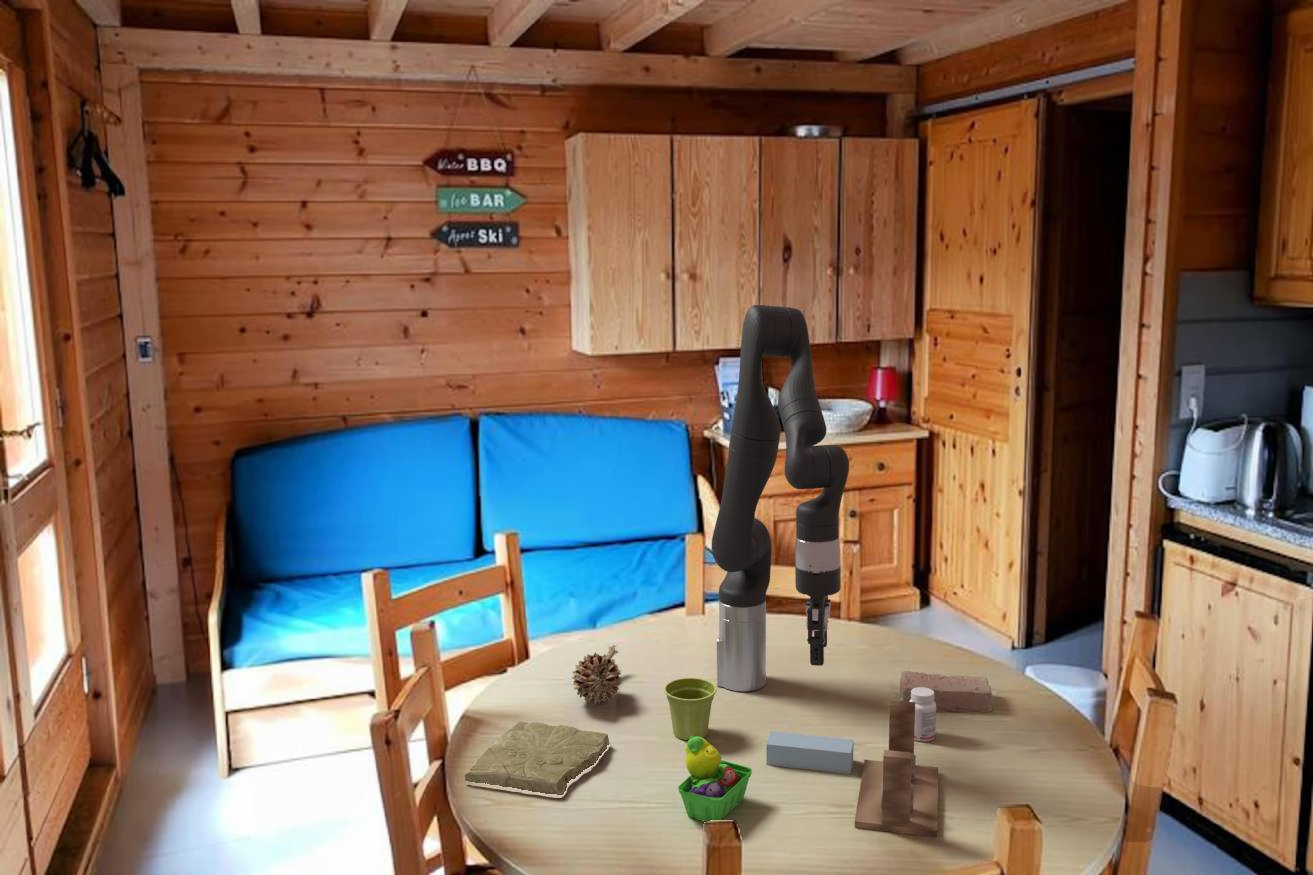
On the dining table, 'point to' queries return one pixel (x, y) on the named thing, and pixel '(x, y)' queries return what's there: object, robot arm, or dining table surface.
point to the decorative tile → (538, 757)
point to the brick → (950, 691)
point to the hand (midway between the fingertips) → (818, 655)
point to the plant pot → (690, 706)
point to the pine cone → (597, 677)
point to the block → (810, 752)
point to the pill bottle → (924, 713)
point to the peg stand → (899, 783)
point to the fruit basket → (711, 782)
